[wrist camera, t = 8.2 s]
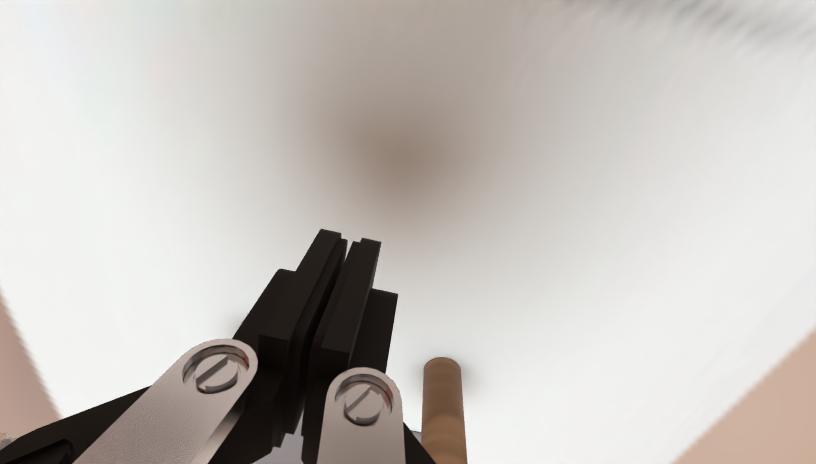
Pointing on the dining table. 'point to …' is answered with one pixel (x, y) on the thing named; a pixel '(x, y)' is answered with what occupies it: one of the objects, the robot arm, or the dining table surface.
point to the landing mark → (294, 448)
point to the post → (443, 412)
